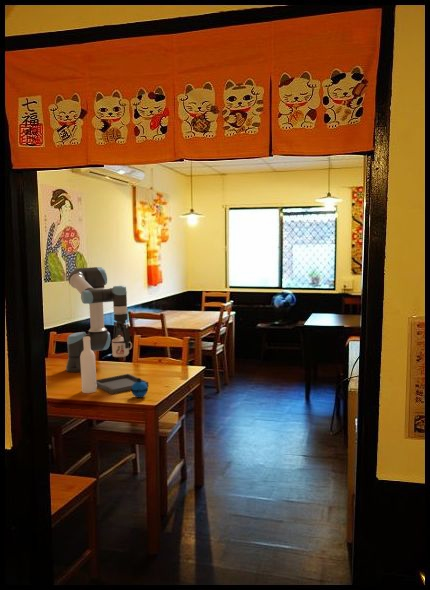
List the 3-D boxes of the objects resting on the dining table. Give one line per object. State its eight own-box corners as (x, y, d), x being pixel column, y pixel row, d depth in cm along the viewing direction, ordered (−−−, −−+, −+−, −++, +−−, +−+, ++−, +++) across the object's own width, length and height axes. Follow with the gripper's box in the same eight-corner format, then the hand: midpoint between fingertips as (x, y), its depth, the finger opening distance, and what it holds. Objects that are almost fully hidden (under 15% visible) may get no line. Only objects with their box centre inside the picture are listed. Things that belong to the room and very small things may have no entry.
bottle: (79, 391, 272) (76, 337, 269) (92, 388, 277) (89, 334, 274) (86, 394, 266) (83, 338, 263) (99, 390, 272) (96, 336, 269)
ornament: (150, 395, 262) (149, 376, 261) (144, 400, 254) (143, 380, 253) (135, 394, 264) (134, 375, 263) (128, 399, 256) (127, 380, 255)
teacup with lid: (116, 358, 277) (115, 337, 276) (109, 355, 284) (108, 335, 283) (135, 354, 284) (135, 334, 283) (128, 352, 291) (128, 332, 290)
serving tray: (93, 384, 284) (93, 380, 284) (128, 377, 297) (128, 373, 297) (112, 394, 265) (111, 389, 265) (148, 386, 278) (148, 382, 278)
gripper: (135, 314, 275) (137, 354, 278) (117, 310, 293) (119, 348, 295) (123, 315, 271) (125, 356, 273) (105, 312, 288) (107, 350, 290)
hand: (122, 352), depth 284 cm, fingers closed on teacup with lid, 9 cm apart
